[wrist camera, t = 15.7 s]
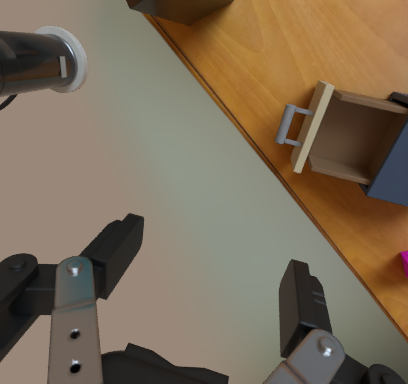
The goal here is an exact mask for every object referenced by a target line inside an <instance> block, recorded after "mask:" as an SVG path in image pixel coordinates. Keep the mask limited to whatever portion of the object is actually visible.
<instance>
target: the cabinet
mask: <svg viewBox="0 0 408 384" xmlns="http://www.w3.org/2000/svg"><path fill="white" fill-rule="evenodd" d="M389 101H391V102H395V103H400V104H404V105H407V106H408V94H403V93H398V92H393V93H392V95H391V97H390V99H389ZM358 184H359V185H360V187H361V188H362V190H363V191H364V193H365V194H366V196H368V197H372V198H376V199H380V200H384V201H388V202H392V203H396V204H400V205H404V206H408V116H407V118H406V120H405V121H404V123H403V125H402V127H401V129H400V131H399V132H398V134H397V136H396V138H395V140H394V141H393V143H392V145H391V147H390V149H389V151H388V152H387V154H386V156H385V158H384V160H383V162H382V163H381V165H380V167H379V169H378V171H377V172H376V174H375V176H374V178H373V180H372V182H371V183H370V185H366V184H362V183H358Z"/></svg>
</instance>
